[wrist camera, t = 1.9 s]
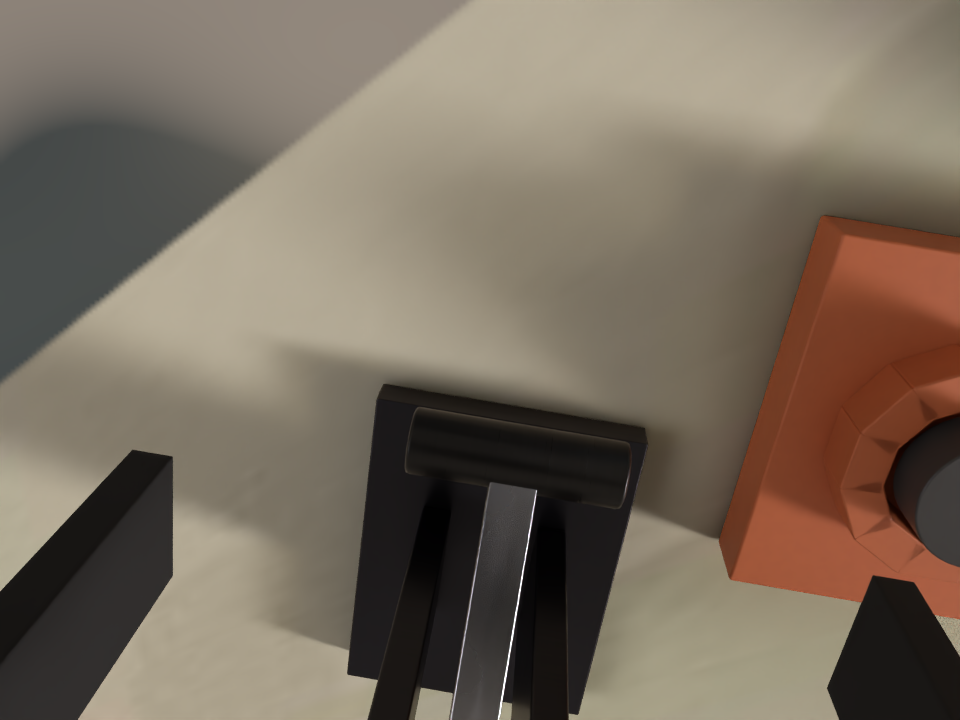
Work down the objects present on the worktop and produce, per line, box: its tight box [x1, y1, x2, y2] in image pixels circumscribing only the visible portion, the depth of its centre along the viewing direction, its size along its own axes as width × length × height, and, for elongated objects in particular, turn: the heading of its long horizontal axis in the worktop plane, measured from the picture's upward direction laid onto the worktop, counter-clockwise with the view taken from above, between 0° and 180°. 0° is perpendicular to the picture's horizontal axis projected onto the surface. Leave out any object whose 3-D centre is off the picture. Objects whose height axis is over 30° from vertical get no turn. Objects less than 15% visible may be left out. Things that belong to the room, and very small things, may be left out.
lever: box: [405, 407, 631, 720], centre depth 20 cm, size 12×5×2 cm, turn 171°
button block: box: [719, 215, 960, 619], centre depth 26 cm, size 12×10×4 cm
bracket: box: [347, 384, 648, 720], centre depth 25 cm, size 12×9×15 cm
